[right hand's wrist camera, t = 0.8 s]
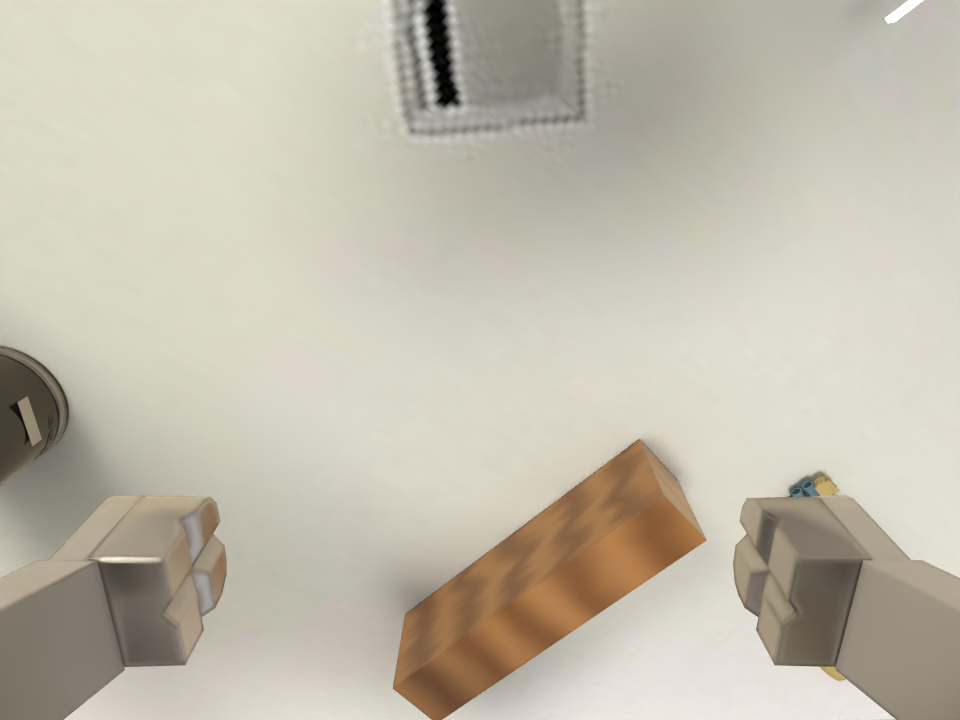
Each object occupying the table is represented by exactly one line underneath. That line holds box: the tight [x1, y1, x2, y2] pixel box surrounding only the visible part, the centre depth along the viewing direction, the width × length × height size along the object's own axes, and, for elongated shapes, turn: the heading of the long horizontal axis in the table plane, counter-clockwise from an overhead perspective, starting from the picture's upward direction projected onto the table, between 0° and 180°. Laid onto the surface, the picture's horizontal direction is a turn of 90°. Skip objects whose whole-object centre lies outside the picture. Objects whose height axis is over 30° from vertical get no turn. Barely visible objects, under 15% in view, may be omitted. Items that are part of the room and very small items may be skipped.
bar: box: [393, 439, 706, 720], centre depth 53 cm, size 26×5×8 cm, turn 133°
